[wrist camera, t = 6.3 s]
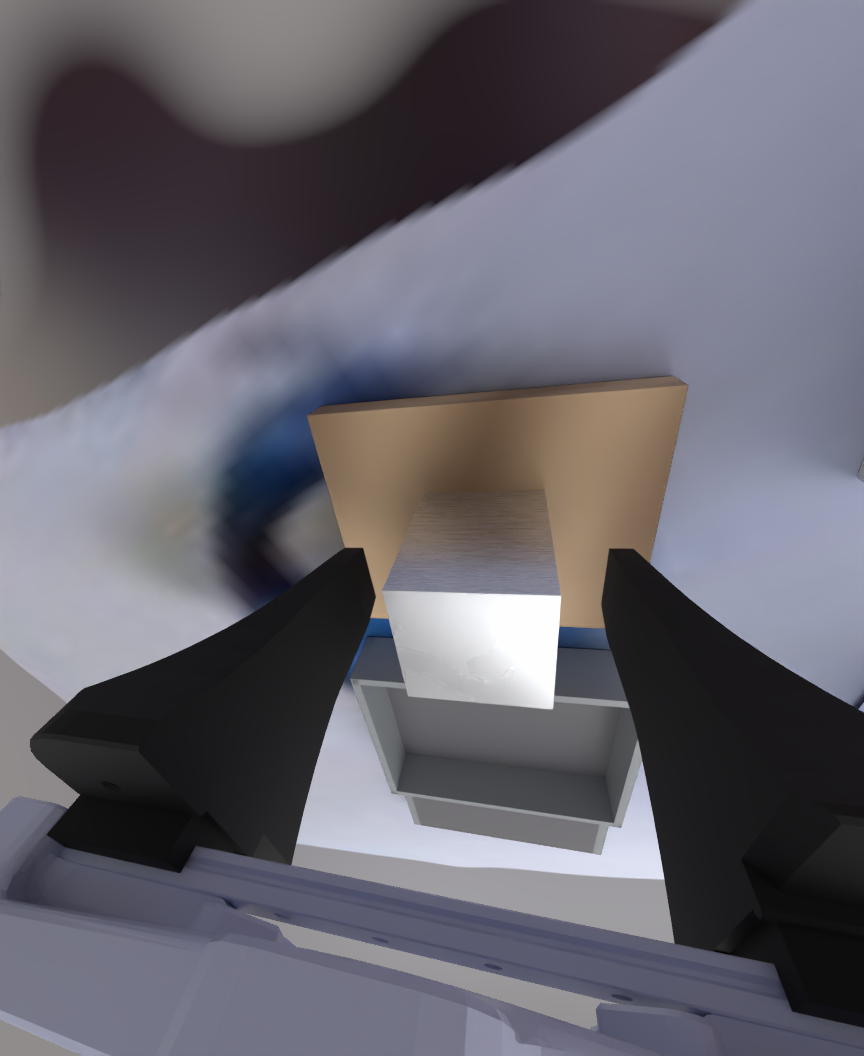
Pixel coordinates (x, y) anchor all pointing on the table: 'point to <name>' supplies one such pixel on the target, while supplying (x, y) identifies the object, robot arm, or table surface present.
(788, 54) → the table surface
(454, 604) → the block
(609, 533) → the brown wooden board
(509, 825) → the case
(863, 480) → the ink cartridge box
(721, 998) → the robot arm
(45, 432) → the table surface
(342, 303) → the table surface
